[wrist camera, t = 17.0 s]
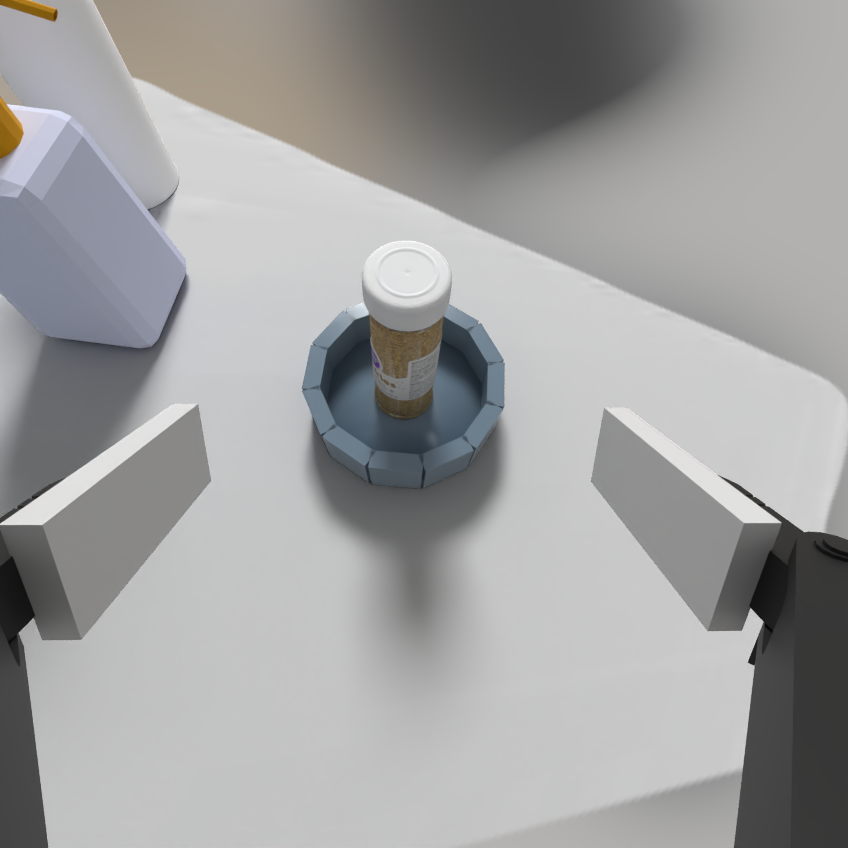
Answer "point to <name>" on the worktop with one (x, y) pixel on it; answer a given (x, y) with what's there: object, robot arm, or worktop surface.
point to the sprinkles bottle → (405, 323)
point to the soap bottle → (77, 232)
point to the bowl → (404, 438)
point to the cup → (87, 89)
